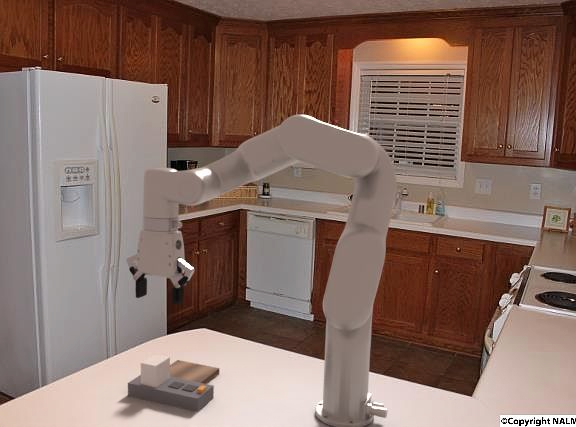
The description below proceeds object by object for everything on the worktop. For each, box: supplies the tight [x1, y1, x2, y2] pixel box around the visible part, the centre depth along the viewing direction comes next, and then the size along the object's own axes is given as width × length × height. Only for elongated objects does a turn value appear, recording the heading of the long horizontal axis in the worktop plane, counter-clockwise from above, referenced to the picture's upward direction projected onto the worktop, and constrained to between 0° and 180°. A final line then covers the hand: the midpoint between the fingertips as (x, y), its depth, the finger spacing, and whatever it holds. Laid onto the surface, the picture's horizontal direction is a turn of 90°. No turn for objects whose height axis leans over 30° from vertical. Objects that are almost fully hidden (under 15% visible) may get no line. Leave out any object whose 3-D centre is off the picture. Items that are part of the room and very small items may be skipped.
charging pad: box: [170, 359, 220, 384], centre depth 140 cm, size 12×10×2 cm
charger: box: [140, 353, 171, 387], centre depth 130 cm, size 4×6×6 cm
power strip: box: [127, 374, 215, 413], centre depth 129 cm, size 18×7×4 cm, turn 68°
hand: (158, 300), depth 128 cm, fingers open, 9 cm apart
